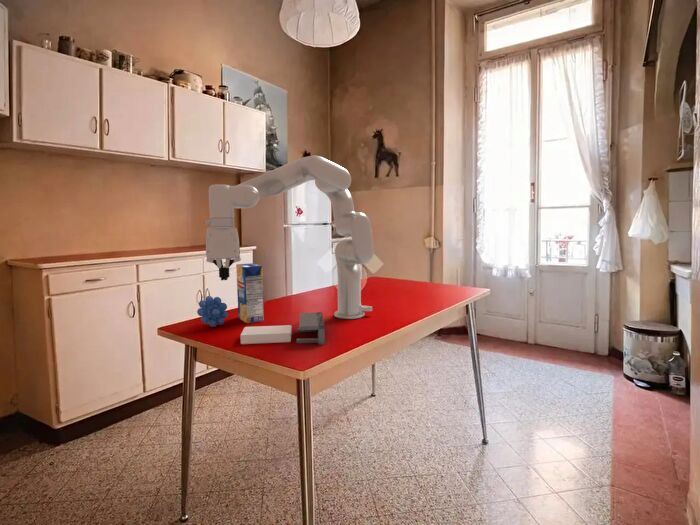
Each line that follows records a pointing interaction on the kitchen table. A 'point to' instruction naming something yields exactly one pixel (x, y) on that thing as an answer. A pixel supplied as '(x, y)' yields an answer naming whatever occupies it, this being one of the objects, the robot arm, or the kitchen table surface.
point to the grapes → (212, 311)
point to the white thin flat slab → (266, 334)
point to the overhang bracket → (312, 327)
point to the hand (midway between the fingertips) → (224, 279)
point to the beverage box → (250, 292)
